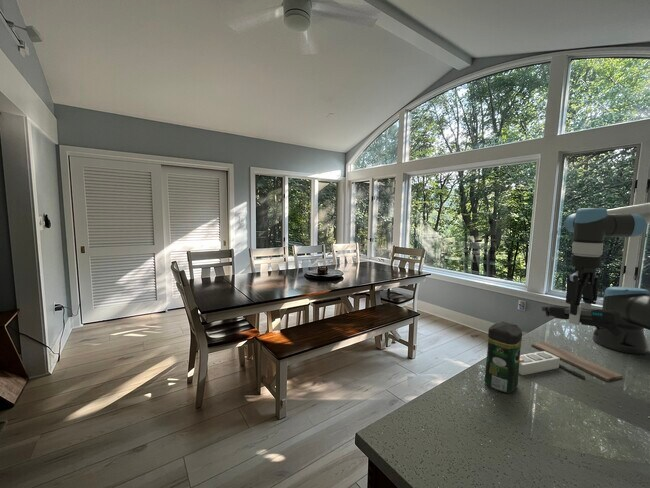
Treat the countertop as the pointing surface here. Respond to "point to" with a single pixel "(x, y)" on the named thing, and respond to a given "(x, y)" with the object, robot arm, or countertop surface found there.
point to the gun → (588, 317)
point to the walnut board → (578, 361)
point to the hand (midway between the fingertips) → (579, 322)
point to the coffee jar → (503, 357)
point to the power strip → (541, 363)
